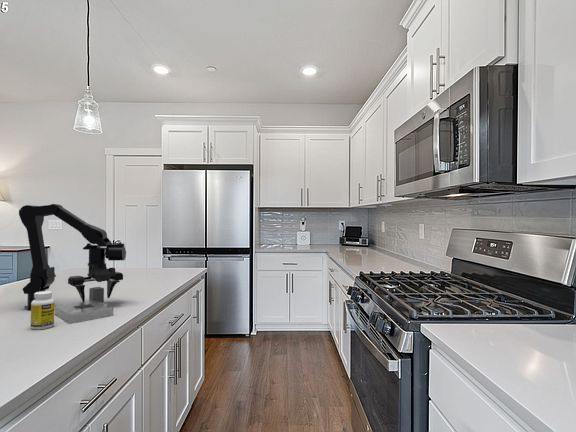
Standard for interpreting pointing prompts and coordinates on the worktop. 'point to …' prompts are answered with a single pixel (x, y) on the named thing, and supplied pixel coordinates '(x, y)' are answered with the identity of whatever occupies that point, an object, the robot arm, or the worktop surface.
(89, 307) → the socket plate
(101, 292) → the plug
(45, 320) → the pill bottle
